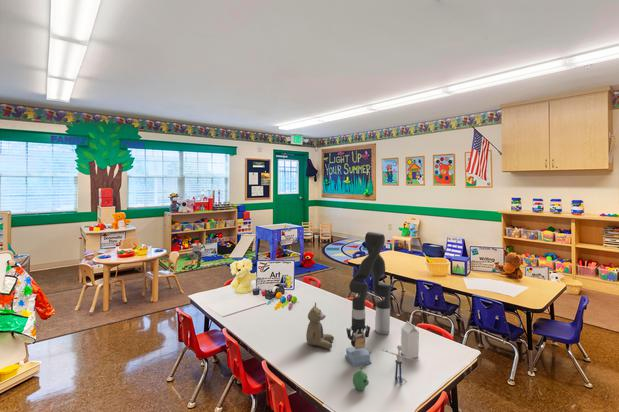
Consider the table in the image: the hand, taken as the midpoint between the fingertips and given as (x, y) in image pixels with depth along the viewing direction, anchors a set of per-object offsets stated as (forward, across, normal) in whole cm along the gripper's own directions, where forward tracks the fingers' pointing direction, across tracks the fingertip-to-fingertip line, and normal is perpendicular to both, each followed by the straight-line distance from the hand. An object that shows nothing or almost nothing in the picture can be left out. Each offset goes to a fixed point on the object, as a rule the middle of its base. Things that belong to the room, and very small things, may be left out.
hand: (358, 345), depth 178 cm
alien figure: (+9, -11, +24) cm, 28 cm away
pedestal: (+8, 0, 0) cm, 8 cm away
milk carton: (+9, -31, +4) cm, 32 cm away
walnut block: (+1, 0, 0) cm, 1 cm away
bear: (+9, +15, -23) cm, 29 cm away
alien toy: (+9, +10, +24) cm, 27 cm away
